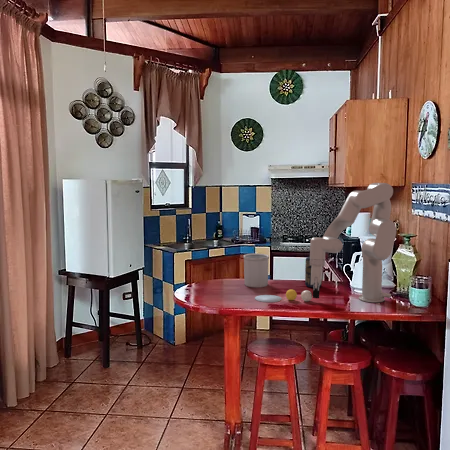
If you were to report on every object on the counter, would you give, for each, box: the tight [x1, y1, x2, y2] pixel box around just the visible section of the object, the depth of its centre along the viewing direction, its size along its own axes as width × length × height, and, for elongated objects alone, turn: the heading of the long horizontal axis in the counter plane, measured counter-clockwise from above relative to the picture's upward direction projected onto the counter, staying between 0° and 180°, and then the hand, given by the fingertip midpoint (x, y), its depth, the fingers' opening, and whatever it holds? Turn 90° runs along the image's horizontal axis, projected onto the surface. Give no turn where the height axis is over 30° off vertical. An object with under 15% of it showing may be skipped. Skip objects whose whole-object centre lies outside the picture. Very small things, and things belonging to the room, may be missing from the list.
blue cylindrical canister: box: [304, 256, 323, 288], centre depth 261 cm, size 10×10×18 cm
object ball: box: [285, 289, 298, 301], centre depth 232 cm, size 6×6×6 cm
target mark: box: [254, 294, 283, 303], centre depth 235 cm, size 14×14×1 cm
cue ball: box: [300, 289, 313, 302], centre depth 230 cm, size 6×6×6 cm
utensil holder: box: [243, 253, 270, 288], centre depth 265 cm, size 15×15×18 cm
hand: (315, 297), depth 228 cm, fingers closed
